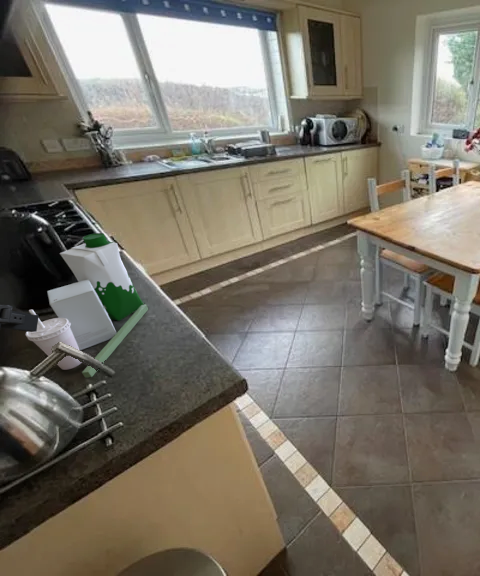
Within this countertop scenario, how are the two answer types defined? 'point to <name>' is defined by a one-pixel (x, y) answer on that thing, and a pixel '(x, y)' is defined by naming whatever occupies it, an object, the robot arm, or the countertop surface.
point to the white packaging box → (82, 313)
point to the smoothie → (54, 338)
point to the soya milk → (104, 274)
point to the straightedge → (116, 339)
